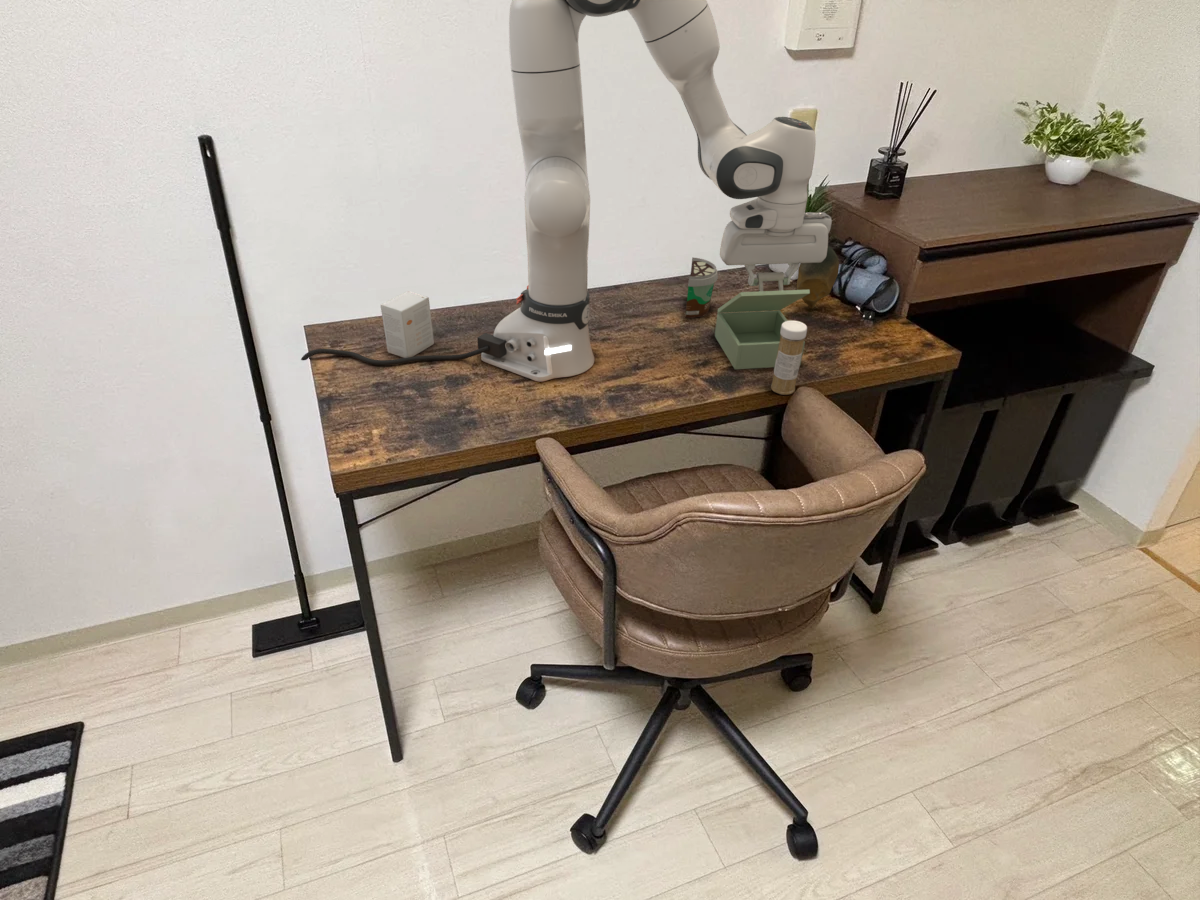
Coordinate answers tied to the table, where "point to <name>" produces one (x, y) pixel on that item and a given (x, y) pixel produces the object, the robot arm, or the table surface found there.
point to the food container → (700, 287)
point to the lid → (764, 297)
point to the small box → (407, 324)
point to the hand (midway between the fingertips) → (768, 284)
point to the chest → (750, 337)
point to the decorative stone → (818, 277)
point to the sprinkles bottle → (788, 357)
